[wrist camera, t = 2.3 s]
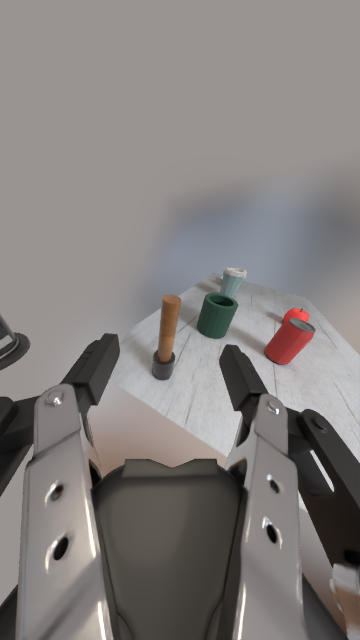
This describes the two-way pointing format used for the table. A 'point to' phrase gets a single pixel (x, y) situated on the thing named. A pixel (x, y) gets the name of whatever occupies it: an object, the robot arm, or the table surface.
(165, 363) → the brown and grey cylinder
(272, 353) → the beer can
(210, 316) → the green cup
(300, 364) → the table surface
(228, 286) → the disposable coffee cup
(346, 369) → the table surface
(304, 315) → the apple
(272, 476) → the robot arm
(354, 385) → the table surface
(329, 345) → the table surface
